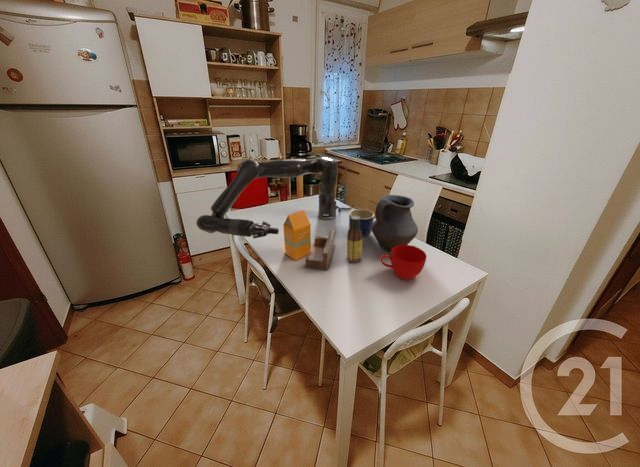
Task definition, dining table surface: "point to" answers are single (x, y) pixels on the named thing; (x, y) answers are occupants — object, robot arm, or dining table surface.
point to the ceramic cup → (406, 261)
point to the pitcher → (394, 222)
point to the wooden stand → (327, 252)
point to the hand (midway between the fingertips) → (278, 231)
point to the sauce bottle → (354, 240)
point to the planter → (363, 220)
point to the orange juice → (297, 235)
